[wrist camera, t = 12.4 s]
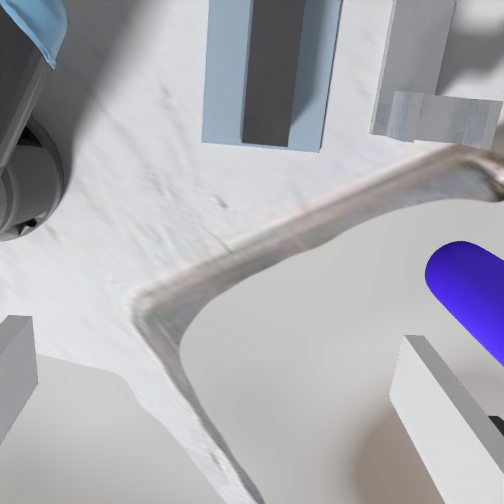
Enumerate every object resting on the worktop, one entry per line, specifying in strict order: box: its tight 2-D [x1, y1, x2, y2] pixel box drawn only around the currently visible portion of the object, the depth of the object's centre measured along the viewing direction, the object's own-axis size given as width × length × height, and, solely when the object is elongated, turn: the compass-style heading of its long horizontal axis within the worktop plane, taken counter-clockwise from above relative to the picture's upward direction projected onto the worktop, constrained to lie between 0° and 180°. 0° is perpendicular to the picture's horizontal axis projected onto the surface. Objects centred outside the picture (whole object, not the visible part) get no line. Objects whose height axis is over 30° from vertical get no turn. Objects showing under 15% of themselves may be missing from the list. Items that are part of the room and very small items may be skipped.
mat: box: [202, 0, 341, 153], centre depth 45 cm, size 13×26×1 cm, turn 175°
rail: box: [239, 0, 305, 147], centre depth 42 cm, size 24×4×6 cm, turn 175°
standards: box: [369, 0, 503, 149], centre depth 41 cm, size 8×21×12 cm, turn 175°
